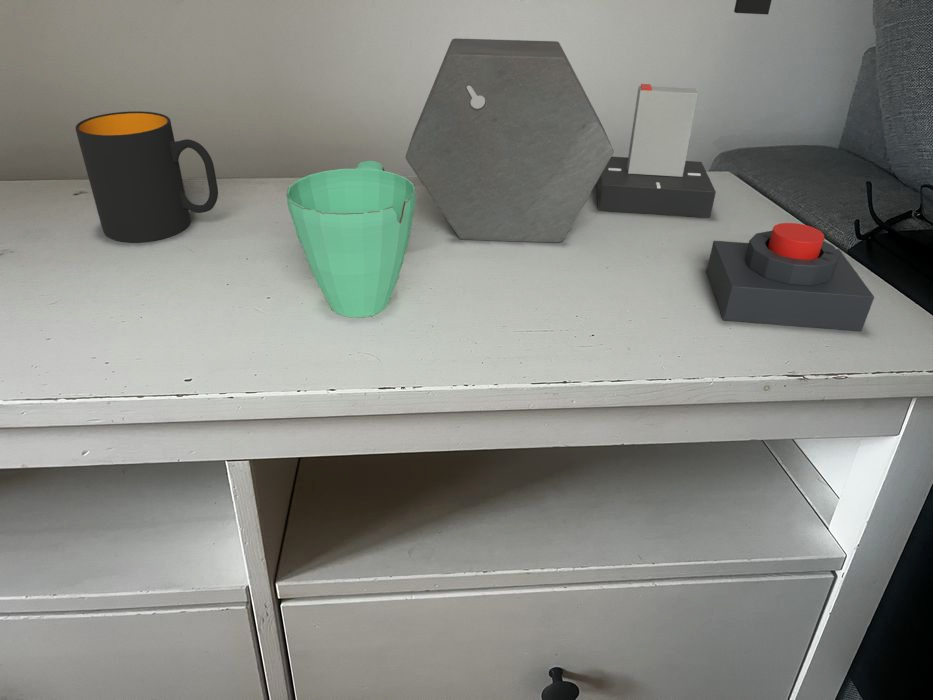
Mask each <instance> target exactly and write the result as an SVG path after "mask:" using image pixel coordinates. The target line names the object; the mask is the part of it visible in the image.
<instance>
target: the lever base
mask: <svg viewBox="0 0 933 700" xmlns="http://www.w3.org/2000/svg"><path fill="white" fill-rule="evenodd" d="M627 162H628V156H625V157H624V156H612V157H611V158H610V160H609V162H608V164H607V165H606V167H605V169H604V170H603V172H602V174H601V176H600V177H599V179H598V181H597V183H596V194H597V204H598V211H601V212H614V213H615V212H616V213H629V214H643V215H644V214H645V215H646V214H647V215H660V216H677V217H678V216H679V217H692V218H705V219H706V218H707V219H710V218H711V216H712V211H713V206H714V202H715V197H716V194H717V191H716V189H715V187H714V185H713V183H712V181H711V179H710V176H709V175H708V172H707V171H706V169H705V165H704V164H703V162H702V161H696V160H686V161H685V167H684V172H683V177H676V176H660V175H643V174H628V171H627Z"/></svg>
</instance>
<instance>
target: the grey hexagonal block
mask: <svg viewBox="0 0 933 700" xmlns="http://www.w3.org/2000/svg"><path fill="white" fill-rule="evenodd" d="M468 86H469V87H471V89H472V90H473V92H474V93H475V95H476V96H477V97H478V96H479V97H482V98H483V99H484V104H483V106H481V107H479V108H477V107H474V106H473V105H472V103H471V102H472V100H473V97H472V94H471V93H470V92H469V89H468ZM614 153H615V149H614V148H613V146H612V144H611V141H610V139H609V137H608V135H607V133H606V131H605V128H604V126H603V124H602V122H601V120H600V118H599V116H598V114H597V112H596V110H595V108H594V106H593V104H592V103H591V101H590V99H589V96H588V95H587V94H586V91H585V89H584V88H583V85H582V84H581V81H580V80H579V78H578V75H577V74H576V72H575V70H574V68H573V66H572V64H571V62H570V61H569V58H568V57H567V55H566V53H565V50H564V49H563V47H562V45H561V43H560V42H559V41H555V40H524V39H523V40H520V39H487V38H486V39H485V38H456V37H455V38H451V41H450V43H449V45H448V48H447V50H446V52H445V55H444V58H443V60H442V62H441V65H440V66H439V69H438V72H437V74H436V76H435V79H434V82H433V83H432V86H431V88H430V91H429V94H428V97H427V99H426V101H425V104H424V105H423V108H422V111H421V113H420V116H419V119H418V120H417V122H416V125H415V128H414V130H413V132H412V136H411V139H410V142H409V145H408V148H407V150H406V154H405V160H406V161H407V163H408V165H409V166H410V167H411V169H412V171H413V172H414V174H415V175H416V176H417V178H418V180H419V181H420V183H421V184H422V185H423V187H424V189H425V190H426V191H427V193H428V194H429V196H430V197H431V198H432V200H433V201H434V203H435V204H436V206H437V207H438V208H439V210H440V212H441V213H442V215H443V216H444V218H445V219H446V221H447V222H448V223H449V225H450V226H451V228H452V229H453V231H454V232H455V234H456V235H457V236H458V238H459V239H460V240H468V241H495V242H496V241H497V242H500V241H501V242H526V243H527V242H528V243H561V242H563V241H564V239H565V238H566V236H567V234H568V233H569V231H570V229H571V228H572V227H573V225H574V222H576V221H575V220H576V219H577V217H578V215H579V214H580V212H581V211H582V208H583V207H584V206H585V203H586V202H587V200H588V199H589V196H590V195H591V193H592V191H593V189H594V188H595V187H596V185H597V181H598V179H599V177H600V176H601V174H602V172H603V170H604V169H605V167H606V165H607V164H608V162H609V160H610V158H611V157H613V155H614Z"/></svg>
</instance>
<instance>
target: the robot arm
mask: <svg viewBox="0 0 933 700" xmlns="http://www.w3.org/2000/svg"><path fill="white" fill-rule="evenodd" d="M771 4H772V0H735V5H734V10H733V12H734V13H735V14H745V15H746V14H747V15H748V14H749V15H751V14H752V15H769V14H770V13H769V12H770V8H771Z"/></svg>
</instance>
